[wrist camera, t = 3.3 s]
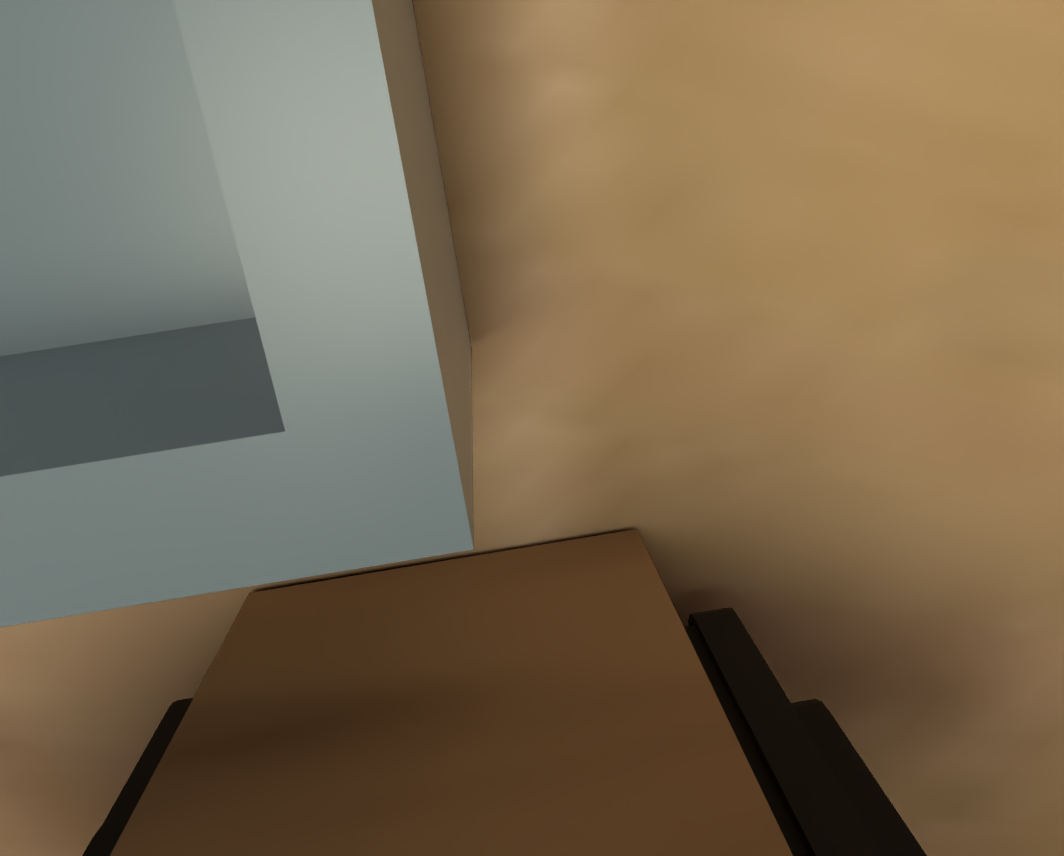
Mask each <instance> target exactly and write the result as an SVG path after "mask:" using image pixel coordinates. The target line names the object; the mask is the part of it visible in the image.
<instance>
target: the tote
mask: <svg viewBox="0 0 1064 856" xmlns="http://www.w3.org/2000/svg"><path fill="white" fill-rule="evenodd" d="M468 550H474V523H473V430H472V348H471V342H470V336H469V330H468V324H467V318H466V312H465V307H464V301H463V295H462V289H461V283H460V277H459V271H458V266H457V260H456V254H455V248H454V242H453V236H452V230H451V225H450V219H449V213H448V207H447V201H446V195H445V189H444V184H443V178H442V172H441V166H440V160H439V154H438V149H437V143H436V137H435V131H434V125H433V119H432V113H431V108H430V102H429V96H428V90H427V84H426V78H425V72H424V67H423V61H422V55H421V49H420V43H419V37H418V31H417V26H416V20H415V14H414V8H413V2H412V0H0V627H5V626H11V625H17V624H24V623H30V622H36V621H42V620H48V619H54V618H60V617H66V616H72V615H78V614H84V613H91V612H97V611H103V610H109V609H115V608H121V607H127V606H133V605H139V604H145V603H151V602H158V601H164V600H170V599H176V598H182V597H188V596H194V595H200V594H206V593H212V592H218V591H224V590H231V589H237V588H243V587H249V586H255V585H261V584H267V583H273V582H279V581H285V580H291V579H298V578H304V577H310V576H316V575H322V574H328V573H334V572H340V571H346V570H352V569H358V568H365V567H371V566H377V565H383V564H389V563H395V562H401V561H407V560H413V559H419V558H425V557H432V556H438V555H444V554H450V553H456V552H462V551H468Z"/></svg>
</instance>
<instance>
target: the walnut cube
mask: <svg viewBox="0 0 1064 856" xmlns="http://www.w3.org/2000/svg"><path fill="white" fill-rule="evenodd" d="M110 856H793V855H792V853H791V850H790V848H789V846H788V844H787V842H786V840H785V838H784V836H783V834H782V832H781V830H780V827H779V825H778V823H777V821H776V819H775V817H774V815H773V813H772V811H771V809H770V806H769V804H768V802H767V800H766V798H765V796H764V794H763V792H762V790H761V788H760V786H759V783H758V781H757V779H756V777H755V775H754V773H753V771H752V769H751V767H750V765H749V763H748V760H747V758H746V756H745V754H744V752H743V750H742V748H741V746H740V744H739V742H738V740H737V737H736V735H735V733H734V731H733V729H732V727H731V725H730V723H729V721H728V719H727V717H726V714H725V712H724V710H723V708H722V706H721V704H720V702H719V700H718V698H717V696H716V693H715V691H714V689H713V687H712V685H711V683H710V681H709V679H708V677H707V675H706V673H705V670H704V668H703V666H702V664H701V662H700V660H699V658H698V656H697V654H696V652H695V650H694V647H693V645H692V643H691V641H690V639H689V637H688V635H687V633H686V631H685V629H684V627H683V624H682V622H681V620H680V618H679V616H678V614H677V612H676V610H675V608H674V606H673V604H672V601H671V599H670V597H669V595H668V593H667V591H666V589H665V587H664V585H663V583H662V580H661V578H660V576H659V574H658V572H657V570H656V568H655V566H654V564H653V562H652V560H651V557H650V555H649V553H648V551H647V549H646V547H645V545H644V543H643V541H642V539H641V537H640V534H639V532H638V530H637V529H634V530H628V531H622V532H616V533H610V534H604V535H598V536H592V537H586V538H580V539H574V540H568V541H561V542H555V543H549V544H543V545H537V546H531V547H525V548H519V549H513V550H507V551H501V552H495V553H489V554H483V555H477V556H471V557H465V558H458V559H452V560H446V561H440V562H434V563H428V564H422V565H416V566H410V567H404V568H398V569H392V570H386V571H380V572H374V573H368V574H362V575H355V576H349V577H343V578H337V579H331V580H325V581H319V582H313V583H307V584H301V585H295V586H289V587H283V588H277V589H271V590H265V591H259V592H253V593H249V595H248V597H247V598H246V600H245V602H244V604H243V606H242V608H241V610H240V612H239V613H238V615H237V617H236V619H235V621H234V623H233V625H232V627H231V629H230V630H229V632H228V634H227V636H226V638H225V640H224V642H223V644H222V646H221V647H220V649H219V651H218V653H217V655H216V657H215V659H214V661H213V662H212V664H211V666H210V668H209V670H208V672H207V674H206V676H205V678H204V679H203V681H202V683H201V685H200V687H199V689H198V691H197V693H196V694H195V696H194V698H193V700H192V702H191V704H190V706H189V708H188V710H187V711H186V713H185V715H184V717H183V719H182V721H181V723H180V725H179V726H178V728H177V730H176V732H175V734H174V736H173V738H172V740H171V742H170V743H169V745H168V747H167V749H166V751H165V753H164V755H163V757H162V758H161V760H160V762H159V764H158V766H157V768H156V770H155V772H154V774H153V775H152V777H151V779H150V781H149V783H148V785H147V787H146V789H145V790H144V792H143V794H142V796H141V798H140V800H139V802H138V804H137V806H136V807H135V809H134V811H133V813H132V815H131V817H130V819H129V821H128V822H127V824H126V826H125V828H124V830H123V832H122V834H121V836H120V838H119V839H118V841H117V843H116V845H115V847H114V849H113V851H112V853H111V854H110Z"/></svg>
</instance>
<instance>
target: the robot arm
mask: <svg viewBox="0 0 1064 856" xmlns="http://www.w3.org/2000/svg"><path fill="white" fill-rule="evenodd" d="M688 622H689V626H685V627H684V629H685V631H686V633H687V635H688V637H689V639H690V641H691V643H692V645H693V647H694V650H695V652H696V654H697V656H698V658H699V660H700V662H701V664H702V666H703V668H704V670H705V673H706V675H707V677H708V679H709V681H710V683H711V685H712V687H713V689H714V691H715V693H716V696H717V698H718V700H719V702H720V704H721V706H722V708H723V710H724V712H725V714H726V717H727V719H728V721H729V723H730V725H731V727H732V729H733V731H734V733H735V735H736V737H737V740H738V742H739V744H740V746H741V748H742V750H743V752H744V754H745V756H746V758H747V760H748V763H749V765H750V767H751V769H752V771H753V773H754V775H755V777H756V779H757V781H758V783H759V786H760V788H761V790H762V792H763V794H764V796H765V798H766V800H767V802H768V804H769V806H770V809H771V811H772V813H773V815H774V817H775V819H776V821H777V823H778V825H779V827H780V830H781V832H782V834H783V836H784V838H785V840H786V842H787V844H788V846H789V848H790V850H791V853H792V855H793V856H927V855H926V854H925V852H924V851H923V849H922V848H921V846H920V845H919V843H918V842H917V841H916V839H915V838H914V836H913V835H912V833H911V832H910V830H909V829H908V827H907V826H906V824H905V823H904V821H903V820H902V818H901V817H900V815H899V814H898V812H897V811H896V809H895V808H894V806H893V805H892V803H891V802H890V800H889V799H888V798H887V796H886V795H885V793H884V792H883V790H882V789H881V787H880V786H879V784H878V783H877V781H876V780H875V778H874V777H873V775H872V774H871V772H870V771H869V769H868V768H867V766H866V765H865V763H864V762H863V760H862V759H861V757H860V756H859V755H858V753H857V752H856V750H855V749H854V747H853V746H852V744H851V743H850V741H849V740H848V738H847V737H846V735H845V734H844V732H843V731H842V729H841V728H840V726H839V725H838V723H837V722H836V720H835V719H834V717H833V716H832V714H831V713H830V712H829V710H828V709H827V708H826V707H825V705H824V704H823V703H822V702H820V701H819V700H817V699H813V700H807V701H801V702H795V703H790V701H789V699H788V698H787V696H786V694H785V693H784V691H783V689H782V688H781V686H780V685H779V683H778V681H777V680H776V678H775V676H774V675H773V673H772V671H771V670H770V668H769V667H768V665H767V663H766V662H765V660H764V658H763V657H762V655H761V654H760V652H759V650H758V649H757V647H756V645H755V644H754V642H753V640H752V639H751V637H750V636H749V634H748V632H747V631H746V629H745V627H744V626H743V624H742V622H741V621H740V619H739V618H738V616H737V614H736V613H735V611H734V610H733V609H732V608H724V609H718V610H712V611H706V612H700V613H695V614H690V616H689V621H688ZM192 700H193V698H189V699H183V700H178V701H175V702H173V703H172V705H171V706H170V707H169V708H168V710H167V712H166V714H165V716H164V717H163V719H162V721H161V723H160V724H159V726H158V728H157V730H156V731H155V733H154V735H153V737H152V738H151V740H150V742H149V744H148V745H147V747H146V749H145V751H144V753H143V754H142V756H141V758H140V760H139V761H138V763H137V765H136V767H135V768H134V770H133V772H132V774H131V775H130V777H129V779H128V781H127V783H126V784H125V786H124V788H123V790H122V791H121V793H120V795H119V797H118V798H117V800H116V802H115V804H114V805H113V807H112V809H111V811H110V812H109V814H108V816H107V818H106V820H105V821H104V823H103V825H102V826H101V827H100V829H99V830H98V831H97V833H96V834H95V835H94V837H93V838H92V840H91V842H90V843H89V845H88V847H87V849H86V850H85V852H84V854H83V856H110V854H111V853H112V851H113V849H114V847H115V845H116V843H117V841H118V839H119V838H120V836H121V834H122V832H123V830H124V828H125V826H126V824H127V822H128V821H129V819H130V817H131V815H132V813H133V811H134V809H135V807H136V806H137V804H138V802H139V800H140V798H141V796H142V794H143V792H144V790H145V789H146V787H147V785H148V783H149V781H150V779H151V777H152V775H153V774H154V772H155V770H156V768H157V766H158V764H159V762H160V760H161V758H162V757H163V755H164V753H165V751H166V749H167V747H168V745H169V743H170V742H171V740H172V738H173V736H174V734H175V732H176V730H177V728H178V726H179V725H180V723H181V721H182V719H183V717H184V715H185V713H186V711H187V710H188V708H189V706H190V704H191V702H192Z"/></svg>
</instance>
